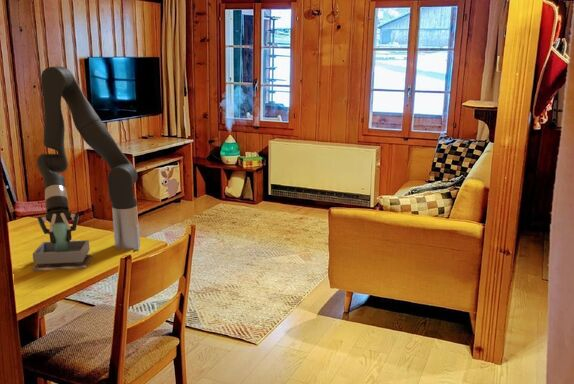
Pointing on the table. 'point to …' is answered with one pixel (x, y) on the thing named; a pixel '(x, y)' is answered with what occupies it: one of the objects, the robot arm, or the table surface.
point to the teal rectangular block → (60, 237)
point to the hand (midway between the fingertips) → (61, 241)
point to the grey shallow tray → (61, 253)
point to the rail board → (64, 265)
